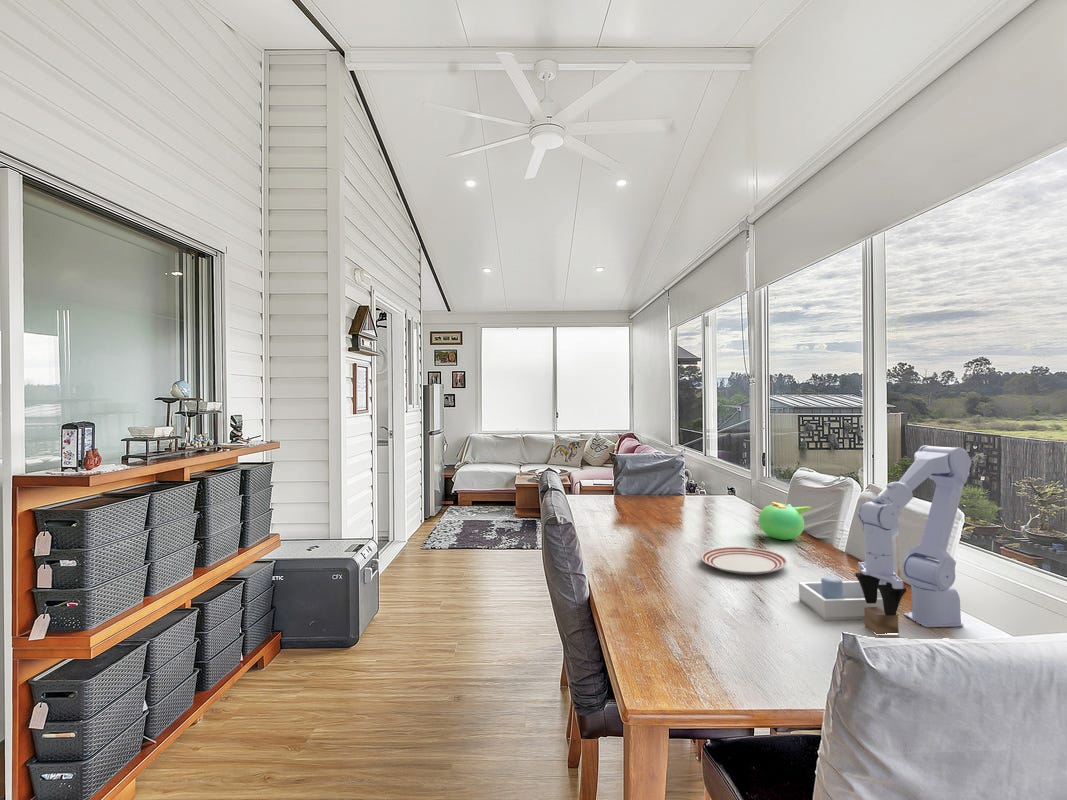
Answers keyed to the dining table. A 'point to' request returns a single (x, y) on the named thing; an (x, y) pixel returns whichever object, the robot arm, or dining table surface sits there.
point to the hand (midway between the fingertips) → (880, 608)
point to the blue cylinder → (832, 588)
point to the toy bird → (782, 520)
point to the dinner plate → (744, 560)
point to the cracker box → (895, 553)
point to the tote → (837, 601)
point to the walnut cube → (880, 621)
